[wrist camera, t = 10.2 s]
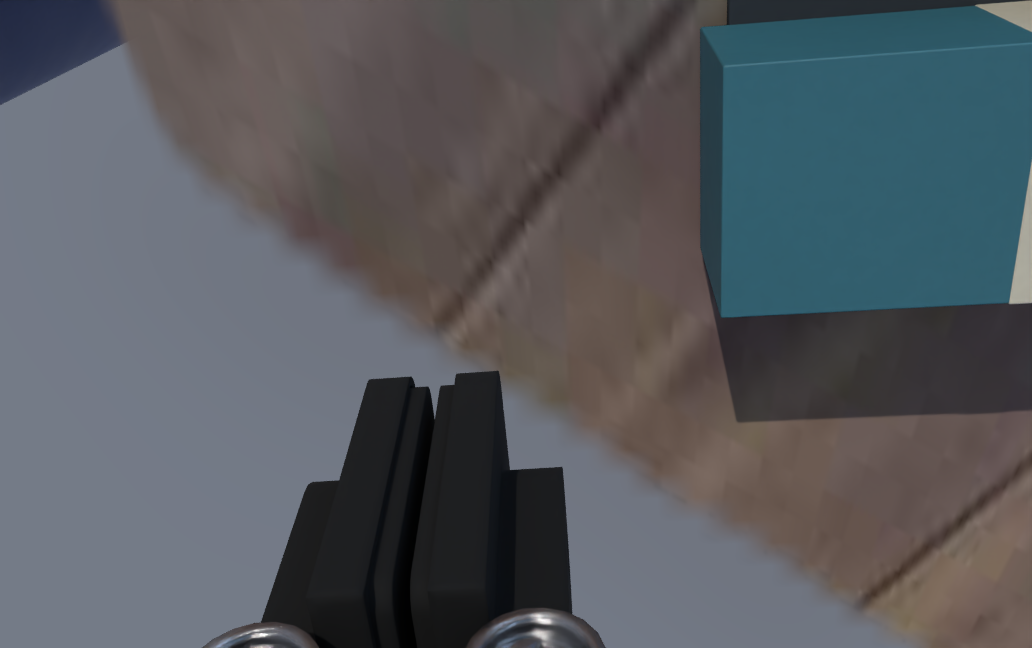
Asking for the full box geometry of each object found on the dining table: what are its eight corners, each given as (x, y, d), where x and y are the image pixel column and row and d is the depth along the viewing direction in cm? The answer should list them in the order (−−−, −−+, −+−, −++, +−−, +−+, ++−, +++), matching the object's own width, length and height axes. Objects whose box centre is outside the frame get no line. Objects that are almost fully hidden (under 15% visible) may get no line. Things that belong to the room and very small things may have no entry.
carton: (720, 320, 27) (1176, 296, 26) (723, 64, 24) (1242, 25, 23) (700, 248, 32) (1087, 226, 30) (700, 26, 28) (1133, -9, 27)
